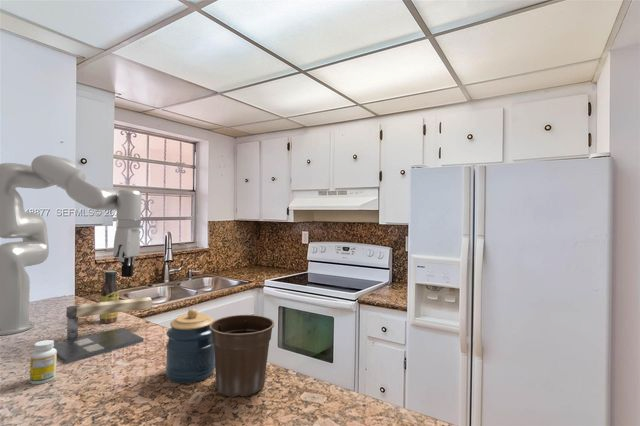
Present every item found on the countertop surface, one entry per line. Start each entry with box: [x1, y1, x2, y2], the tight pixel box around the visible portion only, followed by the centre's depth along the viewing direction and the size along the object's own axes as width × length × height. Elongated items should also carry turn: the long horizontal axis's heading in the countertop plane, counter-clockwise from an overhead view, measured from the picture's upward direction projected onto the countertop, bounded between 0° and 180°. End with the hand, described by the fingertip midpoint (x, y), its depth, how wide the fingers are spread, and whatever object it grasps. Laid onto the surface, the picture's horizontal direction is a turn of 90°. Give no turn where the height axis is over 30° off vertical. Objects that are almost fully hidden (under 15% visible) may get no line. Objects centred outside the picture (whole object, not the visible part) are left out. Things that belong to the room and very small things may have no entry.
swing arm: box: [65, 296, 153, 318], centre depth 123 cm, size 26×5×3 cm, turn 125°
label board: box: [53, 317, 145, 365], centre depth 114 cm, size 22×22×8 cm
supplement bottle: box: [29, 339, 58, 385], centre depth 90 cm, size 5×5×10 cm
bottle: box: [98, 270, 120, 324], centre depth 136 cm, size 7×6×20 cm
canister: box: [165, 308, 215, 384], centre depth 95 cm, size 13×13×18 cm
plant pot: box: [210, 314, 275, 398], centre depth 89 cm, size 16×16×16 cm
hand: (127, 276), depth 122 cm, fingers closed
